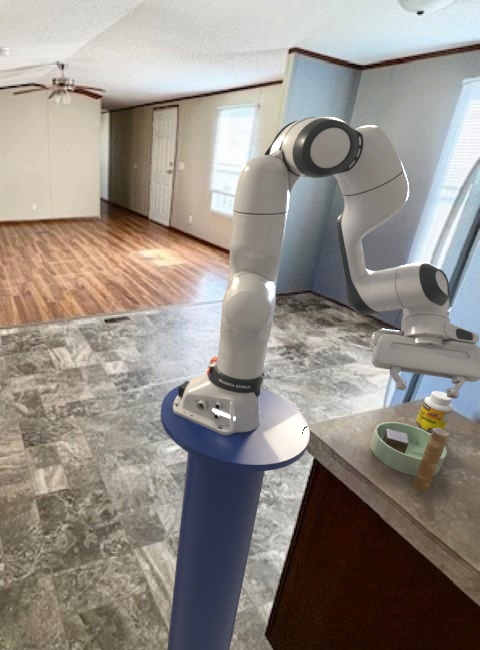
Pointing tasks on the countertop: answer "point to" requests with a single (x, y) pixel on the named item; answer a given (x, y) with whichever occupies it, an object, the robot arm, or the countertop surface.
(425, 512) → the countertop surface
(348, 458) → the countertop surface
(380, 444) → the bowl
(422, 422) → the supplement bottle
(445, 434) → the wooden cylinder
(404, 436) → the block
